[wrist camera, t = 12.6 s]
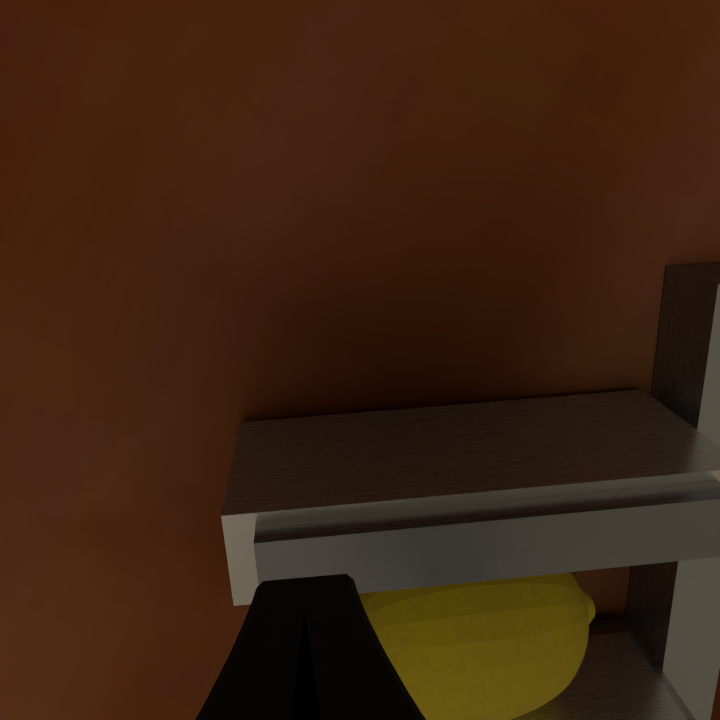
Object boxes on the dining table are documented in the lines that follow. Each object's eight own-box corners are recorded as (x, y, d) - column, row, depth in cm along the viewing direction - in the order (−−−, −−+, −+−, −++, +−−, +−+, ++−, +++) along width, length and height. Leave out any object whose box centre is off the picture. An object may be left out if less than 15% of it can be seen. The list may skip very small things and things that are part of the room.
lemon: (325, 573, 16) (628, 540, 17) (323, 521, 22) (551, 497, 22) (344, 790, 16) (647, 750, 17) (337, 683, 22) (565, 655, 22)
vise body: (665, 694, 25) (764, 844, 20) (279, 739, 24) (274, 910, 19) (730, 261, 19) (894, 309, 14) (225, 295, 18) (196, 361, 13)
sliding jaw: (634, 460, 21) (753, 575, 15) (248, 494, 20) (230, 630, 14) (642, 389, 20) (771, 484, 15) (240, 422, 19) (216, 537, 14)
